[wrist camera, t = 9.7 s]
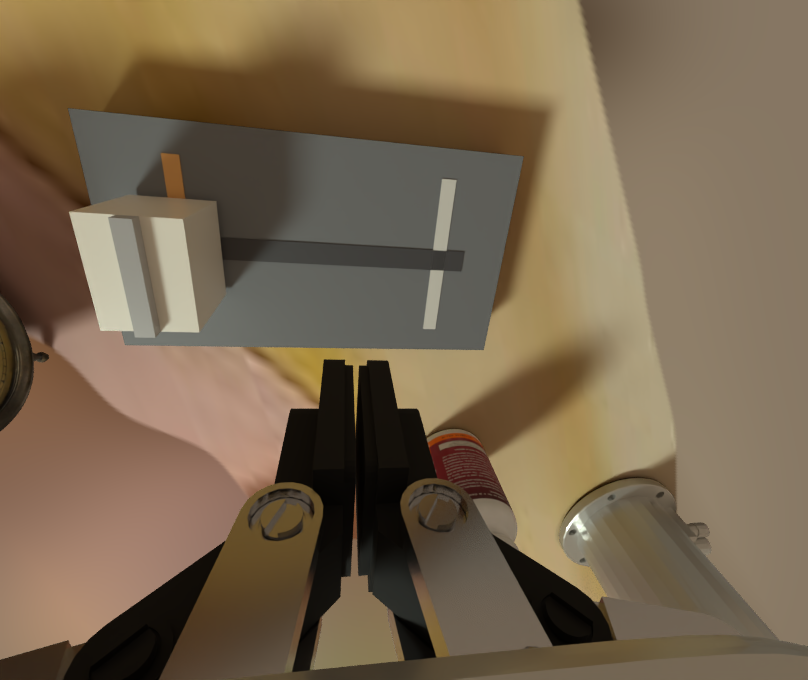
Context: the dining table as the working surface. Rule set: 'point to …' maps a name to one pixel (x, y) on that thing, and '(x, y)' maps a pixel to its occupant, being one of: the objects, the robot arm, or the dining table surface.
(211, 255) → the fader knob
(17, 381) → the alarm clock
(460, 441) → the pill bottle
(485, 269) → the fader console
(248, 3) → the dining table surface
